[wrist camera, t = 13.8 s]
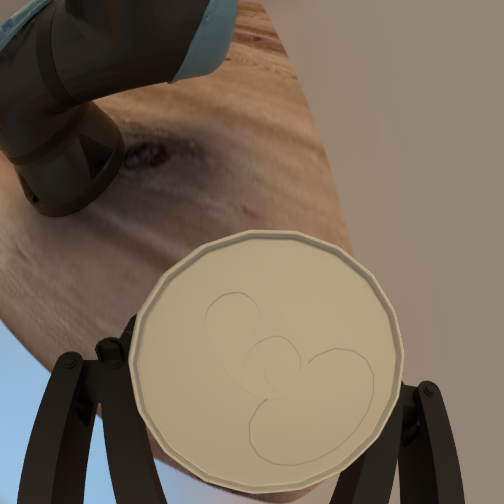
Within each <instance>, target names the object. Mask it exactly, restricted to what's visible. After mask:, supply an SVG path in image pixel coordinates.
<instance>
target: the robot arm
mask: <svg viewBox="0 0 504 504" xmlns="http://www.w3.org/2000/svg"><path fill="white" fill-rule="evenodd" d="M237 8H238V0H32V1H31V2H29V3H28V4H27V5H25V6H24V7H22V8H21V9H20V10H19V11H17V12H16V13H15V14H13V15H12V16H11V17H10V18H9V19H7V20H6V21H5V22H4V23H2V24H1V25H0V150H1V151H2V152H3V154H4V155H5V156H6V157H7V158H8V159H9V160H10V162H11V163H12V164H13V165H14V168H15V171H16V173H17V176H18V179H19V181H20V184H21V186H22V189H23V191H24V194H25V196H26V198H27V199H28V201H29V202H30V203H31V204H32V205H33V206H34V207H35V208H36V209H37V210H38V211H39V212H41V213H42V214H44V215H47V216H52V217H58V216H64V215H68V214H71V213H73V212H75V211H78V210H79V209H81V208H83V207H84V206H86V205H87V204H89V203H90V202H91V201H93V200H94V199H95V198H96V197H97V196H98V195H100V194H101V193H102V192H103V190H104V189H105V188H106V187H107V186H108V185H109V183H110V182H111V181H112V179H113V178H114V176H115V175H116V173H117V171H118V169H119V167H120V165H121V162H122V159H123V155H124V141H123V138H122V136H121V133H120V131H119V129H118V127H117V125H116V123H115V122H114V121H113V120H112V119H111V118H110V117H109V116H108V115H107V114H106V113H105V112H103V111H102V110H101V109H100V108H99V107H98V106H97V105H96V104H95V103H94V102H93V101H92V100H95V99H98V98H101V97H105V96H108V95H112V94H115V93H119V92H123V91H127V90H131V89H135V88H139V87H144V86H149V85H153V84H158V83H164V82H167V83H168V84H173V83H175V82H177V81H178V80H182V79H188V78H193V77H199V76H205V75H208V74H210V73H212V72H213V71H215V70H216V69H217V68H218V67H219V66H220V65H221V64H222V63H223V61H224V59H225V57H226V55H227V52H228V49H229V46H230V43H231V39H232V35H233V31H234V26H235V20H236V15H237ZM136 317H137V314H136V315H134V316H133V317H132V318H131V319H130V321H129V323H128V324H127V326H126V328H125V330H124V332H123V333H122V335H121V337H120V339H118V338H114V337H109V338H104V339H103V340H101V341H99V342H98V344H97V345H96V348H95V351H96V354H97V357H98V360H83V358H82V356H81V355H80V354H79V353H76V352H66V353H64V354H62V355H61V356H60V357H59V358H58V360H57V362H56V364H55V366H54V369H53V371H52V374H51V376H50V379H49V381H48V384H47V387H46V389H45V392H44V395H43V398H42V401H41V404H40V406H39V410H38V412H37V416H36V419H35V422H34V425H33V429H32V432H31V436H30V440H29V443H28V447H27V451H26V455H25V459H24V464H23V469H22V474H21V479H20V485H19V492H18V498H17V504H83V502H84V489H85V479H86V471H87V463H88V456H89V449H90V442H91V437H92V432H93V426H94V421H95V416H96V411H97V407H98V403H101V408H102V420H103V429H104V438H105V446H106V452H107V460H108V465H109V471H110V476H111V481H112V486H113V490H114V495H115V499H116V503H117V504H167V501H166V498H165V495H164V492H163V490H162V486H161V483H160V480H159V476H158V473H157V470H156V466H155V463H154V459H153V455H152V451H151V447H150V443H149V439H148V435H147V430H146V426H145V421H144V420H143V418H142V416H141V415H140V413H139V411H138V407H137V405H136V401H135V396H134V391H133V386H132V380H131V374H130V368H129V362H128V357H129V351H130V346H131V341H132V336H133V331H134V326H135V321H136ZM397 458H398V467H399V482H400V504H465V500H464V491H463V484H462V478H461V472H460V467H459V461H458V456H457V451H456V447H455V443H454V438H453V434H452V430H451V426H450V422H449V419H448V415H447V412H446V409H445V405H444V402H443V398H442V396H441V392H440V390H439V388H438V386H437V385H436V384H435V383H433V382H430V381H423V382H421V383H420V384H419V385H418V387H413V386H408V385H404V383H403V382H402V380H401V386H400V392H399V398H398V400H397V402H396V404H395V406H394V408H393V410H392V412H391V414H390V416H389V418H388V420H387V422H386V424H385V426H384V428H383V430H382V432H381V433H380V435H379V437H378V438H377V439H376V440H375V441H374V442H373V443H372V444H371V445H370V446H369V447H368V448H367V449H366V450H365V451H364V452H363V453H362V454H361V455H360V456H359V457H358V458H357V459H356V460H355V461H354V462H353V463H352V464H350V465H349V466H348V467H347V468H346V469H345V470H343V471H341V473H340V476H339V479H338V482H337V485H336V487H335V490H334V493H333V496H332V498H331V501H330V503H329V504H388V503H389V499H390V494H391V490H392V485H393V480H394V475H395V469H396V464H397Z"/></svg>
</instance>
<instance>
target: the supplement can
mask: <svg viewBox="0 0 504 504" xmlns="http://www.w3.org/2000/svg"><path fill="white" fill-rule="evenodd" d="M128 362H129V368H130V374H131V380H132V386H133V391H134V396H135V401H136V405H137V407H138V411H139V413H140V415H141V416H142V418H143V420H144V421H145V423H146V425H147V426H148V428H149V429H150V431H151V433H152V434H153V436H154V437H155V439H156V440H157V442H158V443H159V445H160V446H161V448H162V449H163V450H164V452H165V453H166V454H168V455H169V456H170V457H171V458H173V459H174V460H175V461H177V462H178V463H179V464H181V465H182V466H184V467H185V468H186V469H188V470H189V471H191V472H192V473H194V474H195V475H196V476H198V477H199V478H201V479H203V480H204V481H206V482H209V483H213V484H216V485H219V486H223V487H227V488H230V489H234V490H238V491H242V492H247V493H251V494H259V493H274V492H285V491H293V490H301V489H304V488H306V487H308V486H311V485H313V484H316V483H318V482H320V481H322V480H324V479H327V478H329V477H331V476H333V475H335V474H337V473H339V472H341V471H343V470H345V469H346V468H347V467H348V466H349V465H350V464H352V463H353V462H354V461H355V460H356V459H357V458H358V457H359V456H360V455H361V454H362V453H363V452H364V451H365V450H366V449H367V448H368V447H369V446H370V445H371V444H372V443H373V442H374V441H375V440H376V439H377V438H378V437H379V435H380V433H381V432H382V430H383V428H384V426H385V424H386V422H387V420H388V418H389V416H390V414H391V412H392V410H393V408H394V406H395V404H396V402H397V400H398V398H399V392H400V386H401V378H402V370H403V362H404V350H403V344H402V339H401V334H400V329H399V325H398V320H397V316H396V312H395V310H394V308H393V307H392V305H391V303H390V301H389V300H388V298H387V296H386V295H385V293H384V292H383V290H382V288H381V287H380V285H379V283H378V282H377V280H376V279H375V277H374V275H373V274H372V273H370V272H369V271H368V270H367V269H366V268H365V267H363V266H362V265H361V264H359V263H358V262H357V261H356V260H355V259H354V258H352V257H351V256H350V255H349V254H347V253H346V252H345V251H344V250H343V249H341V248H340V247H339V246H336V245H333V244H331V243H328V242H325V241H323V240H320V239H317V238H315V237H312V236H309V235H306V234H304V233H301V232H298V231H283V230H247V231H244V232H241V233H238V234H235V235H231V236H228V237H225V238H222V239H219V240H216V241H213V242H210V243H206V244H204V245H201V246H199V247H197V248H196V249H195V250H193V251H192V252H191V253H189V254H188V255H187V256H185V257H184V258H183V259H181V260H180V261H179V262H177V263H176V264H175V265H174V266H172V267H171V268H170V269H168V270H167V271H166V272H164V273H163V274H162V275H161V277H160V278H159V280H158V282H157V283H156V285H155V286H154V288H153V289H152V291H151V292H150V294H149V296H148V297H147V299H146V300H145V302H144V303H143V305H142V307H141V308H140V310H139V311H138V313H137V317H136V321H135V326H134V331H133V336H132V341H131V346H130V351H129V357H128Z"/></svg>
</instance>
